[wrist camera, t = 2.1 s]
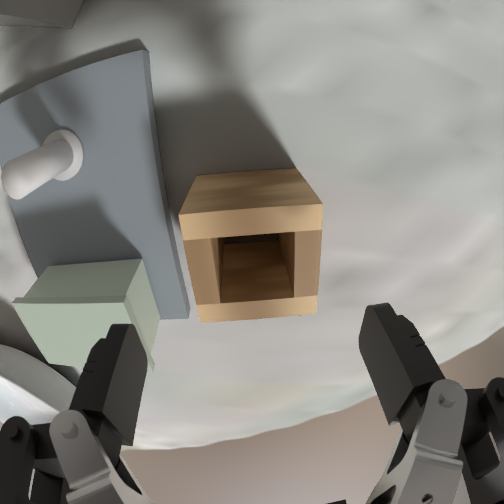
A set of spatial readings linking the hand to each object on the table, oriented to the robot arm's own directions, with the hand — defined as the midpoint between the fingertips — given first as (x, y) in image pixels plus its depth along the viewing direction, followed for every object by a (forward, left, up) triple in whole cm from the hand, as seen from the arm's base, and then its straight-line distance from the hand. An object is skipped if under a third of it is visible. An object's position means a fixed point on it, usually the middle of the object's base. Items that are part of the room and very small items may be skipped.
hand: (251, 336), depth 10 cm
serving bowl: (+28, +19, -11) cm, 35 cm away
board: (+11, -2, -10) cm, 15 cm away
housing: (+11, +4, -9) cm, 14 cm away
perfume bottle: (+11, -19, -11) cm, 24 cm away
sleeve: (0, 0, -10) cm, 10 cm away
